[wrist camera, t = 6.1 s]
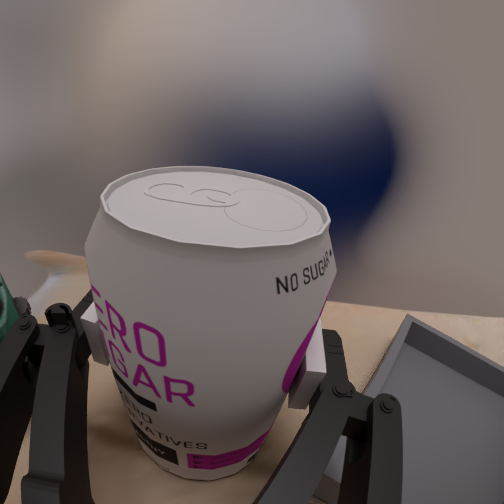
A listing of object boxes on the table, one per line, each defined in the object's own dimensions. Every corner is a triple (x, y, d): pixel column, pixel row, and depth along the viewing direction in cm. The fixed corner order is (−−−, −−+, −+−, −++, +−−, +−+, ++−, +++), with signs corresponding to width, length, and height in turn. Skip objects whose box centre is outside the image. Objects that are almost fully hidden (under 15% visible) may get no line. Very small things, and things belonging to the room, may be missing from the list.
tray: (513, 406, 16) (533, 384, 15) (482, 558, 3) (517, 544, 2) (392, 339, 26) (407, 313, 24) (294, 482, 13) (312, 466, 11)
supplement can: (266, 390, 19) (327, 184, 12) (255, 493, 12) (386, 296, 5) (158, 367, 19) (152, 156, 12) (120, 460, 12) (19, 224, 5)
